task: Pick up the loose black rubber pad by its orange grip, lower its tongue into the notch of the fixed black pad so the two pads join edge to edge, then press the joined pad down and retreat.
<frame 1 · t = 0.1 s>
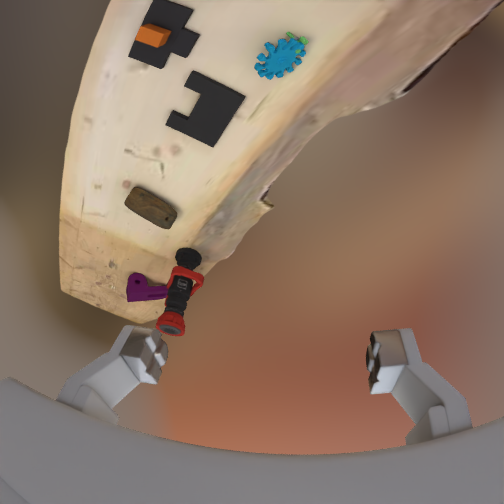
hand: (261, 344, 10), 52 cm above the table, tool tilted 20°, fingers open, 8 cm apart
gear: (282, 53, 43), on the table
fire hose nozzle: (187, 257, 96), on the table
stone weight: (154, 199, 76), on the table
mounting bracket: (150, 282, 113), on the table
socket pad: (204, 108, 54), on the table
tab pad: (160, 32, 40), on the table
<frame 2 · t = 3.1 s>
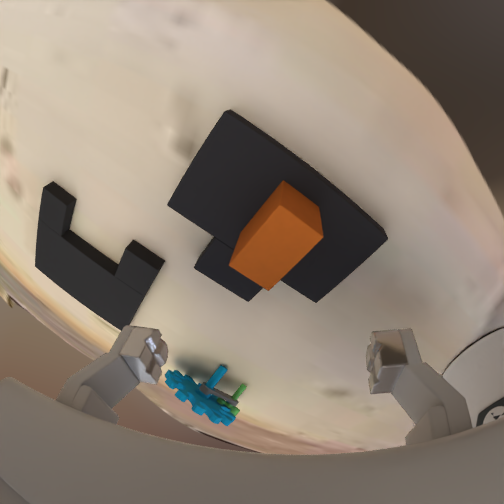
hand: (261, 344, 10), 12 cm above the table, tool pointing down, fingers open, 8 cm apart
gear: (211, 373, 34), on the table
socket pad: (90, 260, 26), on the table
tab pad: (279, 210, 20), on the table
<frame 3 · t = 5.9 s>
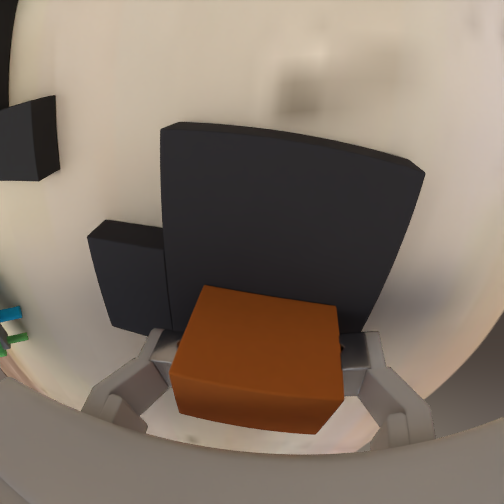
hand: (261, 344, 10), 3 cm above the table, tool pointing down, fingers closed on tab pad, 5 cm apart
gear: (3, 296, 18), on the table
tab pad: (268, 297, 12), on the table, touching gripper
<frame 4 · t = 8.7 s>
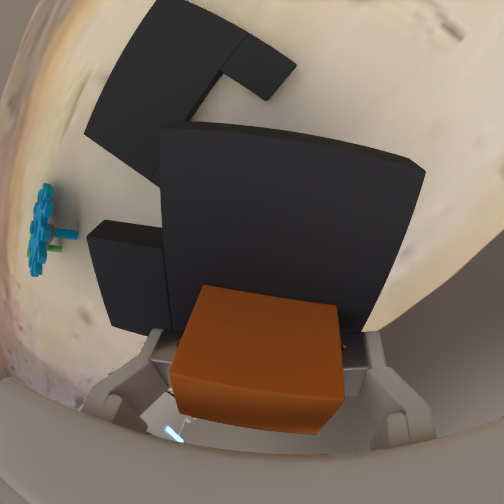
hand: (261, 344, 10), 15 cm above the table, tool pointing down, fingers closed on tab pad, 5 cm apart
gear: (59, 216, 27), on the table
socket pad: (178, 94, 19), on the table
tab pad: (268, 297, 12), point 12 cm above the table, touching gripper
when the fingers open (3 cm above the table, at t = 11.7 s): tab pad stays where it is, resting on socket pad.
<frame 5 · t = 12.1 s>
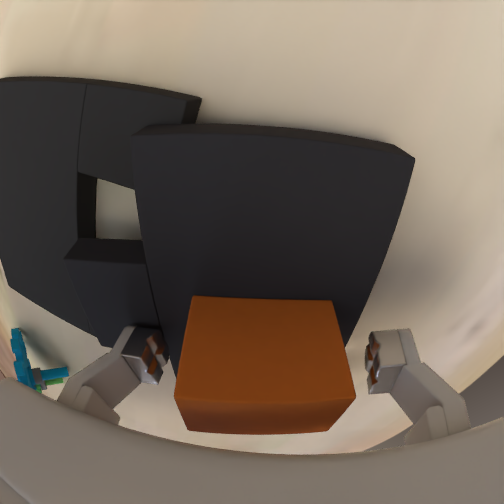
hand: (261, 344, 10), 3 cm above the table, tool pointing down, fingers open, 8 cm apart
gear: (45, 352, 22), on the table
socket pad: (66, 216, 12), on the table
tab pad: (259, 298, 12), point 1 cm above the table, tilted 9°, touching gripper, socket pad
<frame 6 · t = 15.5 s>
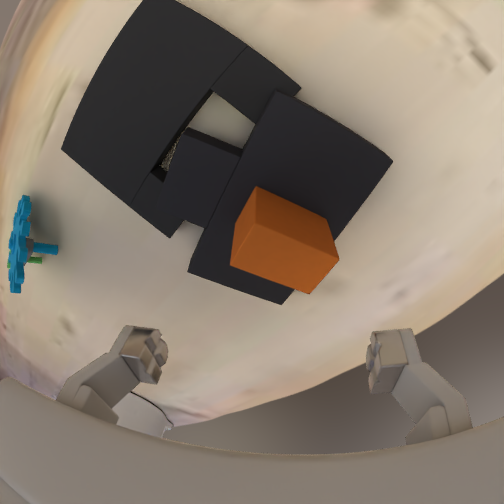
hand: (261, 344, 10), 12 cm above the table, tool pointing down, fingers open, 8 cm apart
gear: (39, 227, 25), on the table
socket pad: (163, 112, 17), on the table
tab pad: (279, 208, 19), point 1 cm above the table, tilted 9°, touching socket pad
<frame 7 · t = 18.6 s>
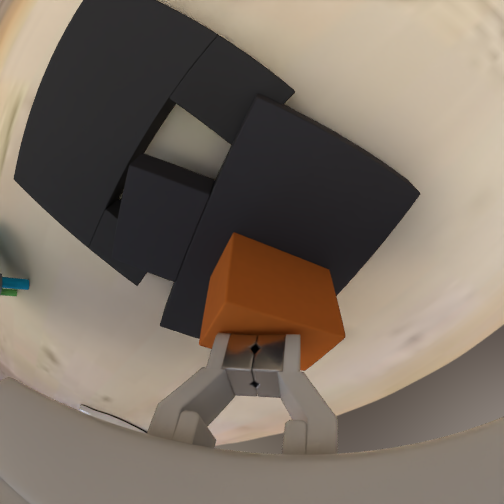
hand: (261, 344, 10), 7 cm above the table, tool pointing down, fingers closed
gear: (10, 259, 21), on the table
socket pad: (118, 131, 13), on the table
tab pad: (268, 253, 15), point 1 cm above the table, tilted 9°, touching gripper, socket pad
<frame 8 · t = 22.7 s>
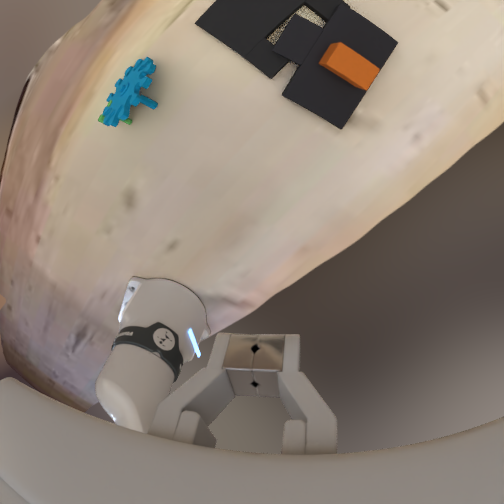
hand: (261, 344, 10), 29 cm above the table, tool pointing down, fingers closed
gear: (139, 91, 32), on the table
socket pad: (272, 12, 24), on the table
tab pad: (339, 64, 26), point 1 cm above the table, tilted 9°, touching socket pad
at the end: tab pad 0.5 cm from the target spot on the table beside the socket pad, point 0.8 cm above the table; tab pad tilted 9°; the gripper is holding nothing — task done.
